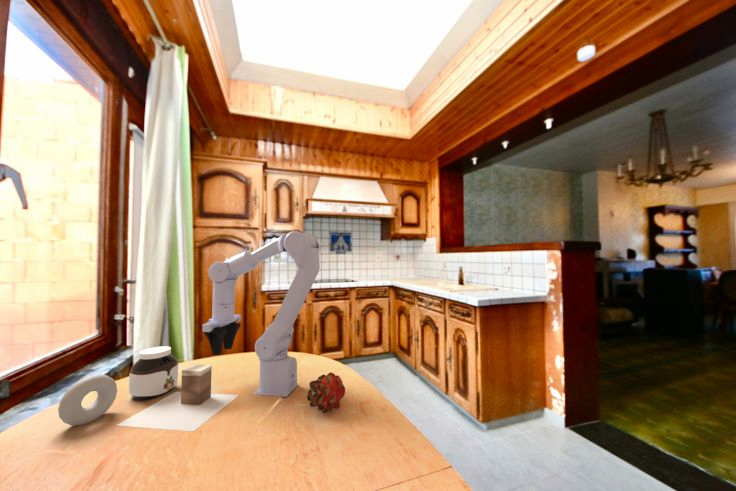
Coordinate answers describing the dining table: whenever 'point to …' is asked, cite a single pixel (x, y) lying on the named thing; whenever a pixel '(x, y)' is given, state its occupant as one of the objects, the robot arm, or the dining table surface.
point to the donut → (73, 397)
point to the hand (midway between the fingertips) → (222, 351)
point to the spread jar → (153, 373)
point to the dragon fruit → (326, 392)
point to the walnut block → (196, 384)
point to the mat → (178, 413)
